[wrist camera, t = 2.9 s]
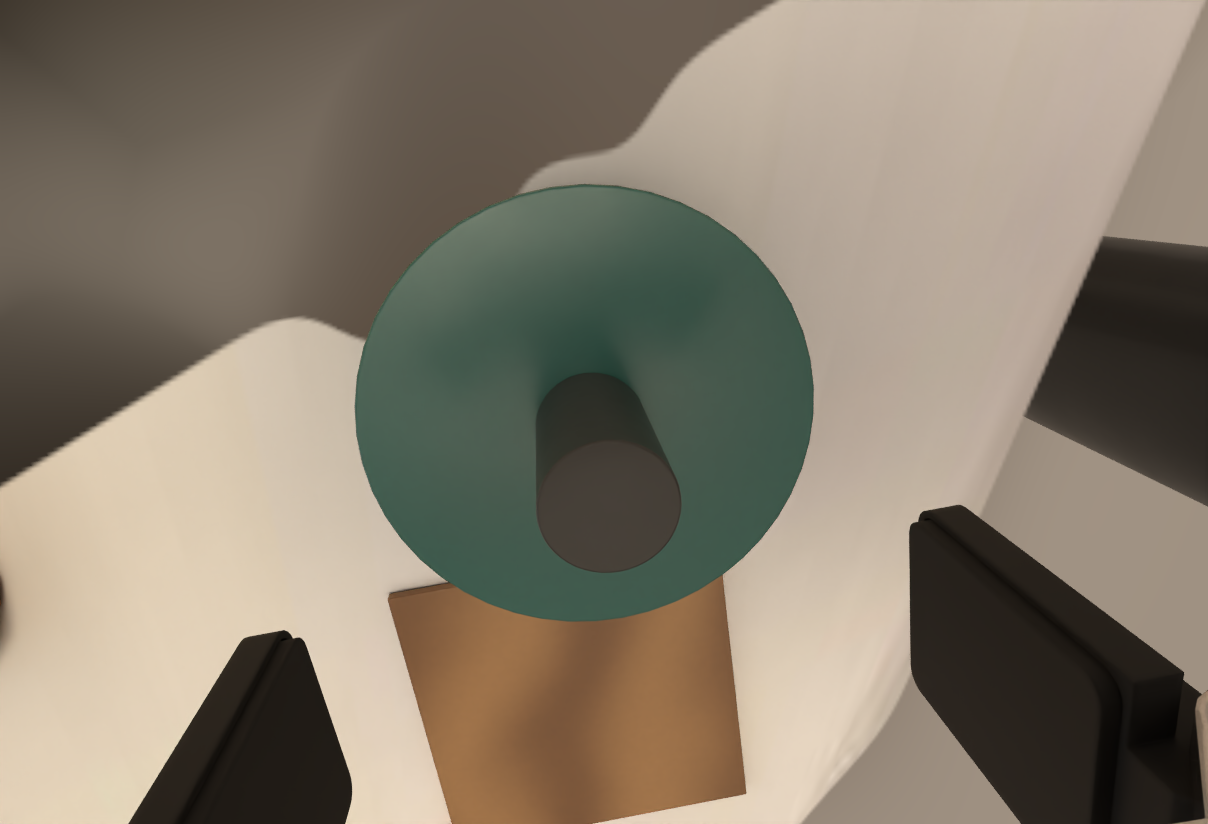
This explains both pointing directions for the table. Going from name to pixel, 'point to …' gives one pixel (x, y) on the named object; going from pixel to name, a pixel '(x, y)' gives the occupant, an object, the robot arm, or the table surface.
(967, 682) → the robot arm
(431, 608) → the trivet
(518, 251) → the tin lid
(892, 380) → the table surface
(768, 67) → the table surface
